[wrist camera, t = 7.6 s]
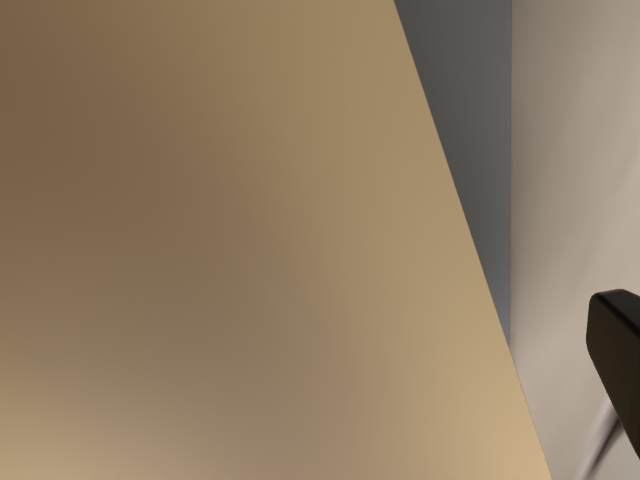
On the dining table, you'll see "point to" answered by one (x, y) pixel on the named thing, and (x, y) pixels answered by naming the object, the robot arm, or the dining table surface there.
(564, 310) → the dining table surface
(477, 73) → the peg rack
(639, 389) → the robot arm
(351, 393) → the shelf board
